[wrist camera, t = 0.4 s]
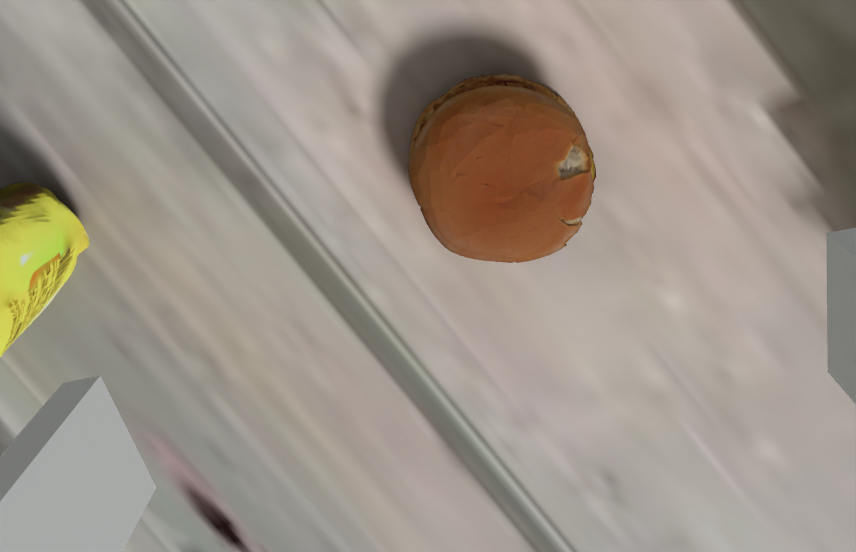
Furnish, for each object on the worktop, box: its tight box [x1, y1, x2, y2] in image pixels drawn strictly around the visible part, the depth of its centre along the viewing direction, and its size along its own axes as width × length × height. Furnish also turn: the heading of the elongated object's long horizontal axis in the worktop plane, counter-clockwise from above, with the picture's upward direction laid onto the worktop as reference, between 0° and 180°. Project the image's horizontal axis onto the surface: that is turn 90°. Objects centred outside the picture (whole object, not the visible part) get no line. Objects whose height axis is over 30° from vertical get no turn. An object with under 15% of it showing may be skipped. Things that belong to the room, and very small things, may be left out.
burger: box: [408, 74, 596, 263], centre depth 38 cm, size 10×9×5 cm
